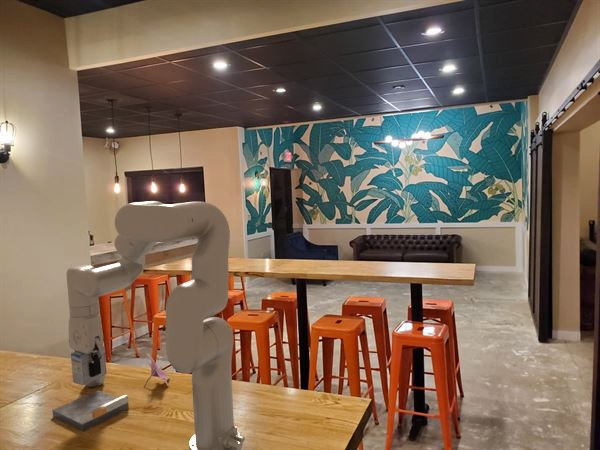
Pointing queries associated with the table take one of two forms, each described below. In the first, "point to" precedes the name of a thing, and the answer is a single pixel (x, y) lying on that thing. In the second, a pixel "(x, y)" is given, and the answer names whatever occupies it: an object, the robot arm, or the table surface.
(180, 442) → the table surface
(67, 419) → the white-edged grey panel
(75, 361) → the medicine box
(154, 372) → the lily
